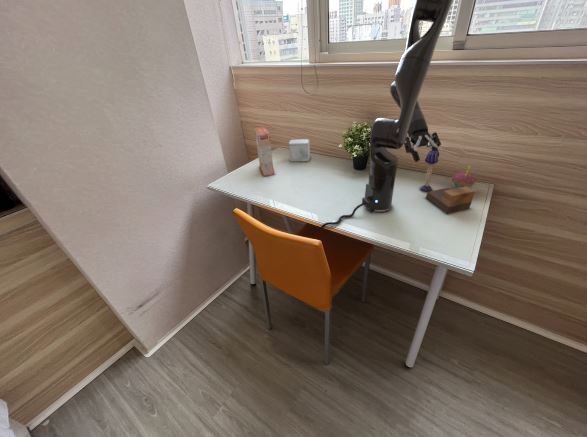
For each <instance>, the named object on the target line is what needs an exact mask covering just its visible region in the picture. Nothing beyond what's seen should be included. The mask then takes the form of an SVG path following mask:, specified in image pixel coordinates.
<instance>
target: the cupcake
mask: <svg viewBox="0 0 587 437" xmlns="http://www.w3.org/2000/svg"><path fill="white" fill-rule="evenodd" d="M470 169H471V164H469V165H468V167H467V169H466V171H460V172H456V173H454V174H453V175H452V176H451V182H452V183H453V189H456V188H461V187H466V186H467V187H469V188H471V187H473V186H475V185H476V183H477V177H475V176H474V175H473V174H471V173H469V171H470Z"/></svg>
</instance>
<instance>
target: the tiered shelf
mask: <svg viewBox="0 0 587 437" xmlns="http://www.w3.org/2000/svg"><path fill="white" fill-rule="evenodd" d="M475 194H476V190H474V189H473V188H471V187H470V188H469V187H467V186H466V187H461V188H456V189H454V188H452V189H451V188H450V187H444V188H438V189H434V190H432V191H429V192H426V195H425V200H427V201H429V202H430V203H431V204H432V205H433V206H436V207H437V208H438V209H439V210H441V211H442V212H444V213H445V214H446V215H448V214H452V213H457V212H462V211H466V210H470V208H471V205H472V202H473V200H474V197H475Z"/></svg>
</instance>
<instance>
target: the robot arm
mask: <svg viewBox="0 0 587 437" xmlns="http://www.w3.org/2000/svg"><path fill="white" fill-rule="evenodd" d="M453 3H454V0H414V3H413V6H412V11H411V15H410V21H409V25H408V30H407V37H406V44H405V50H404V53H403V54H402V56H401V58H400V61H399V63H398V65H397V69H396V72H395V75H394V81H393V82H392V83H391V84H390V87H389V92H390V96H391V98H392V100H393V101H394V102H395V103H396V105H397V107H398V108H399V109H400V113H399V117H398V118H389V117H377V118H376V119H375V120H374V121H373V122H372V126H371V129H370V135H369V171H368V182H367V183H365V191H364V192H365V193H364V197H362V198H361V203H360V204H358V205H357V206H356V207H354V209H353V211H352V213H351V214H344V215H340V216H339V218H338V220H337V221H330V222H325V223H323V224H322V225H321V226H320V229H324V227H326V226H329V225H330V226H334V225H338V224H340V222H341V221H342V219H343V218H351V217H353V216H355V213H356V211H357V210H358V209H360V208H361V207H363V206H364V207H365V208H366V209H367V210H368V211H369V212H370V213H380V214H381V213H387V212H389V211H390V210H391V209H392V203H393V196H394V188H395V182H396V175H397V170H398V163H399V159H398V157H397V156H396V155H394V154H393V153H392V152H390V151H389V150H387V149H390V150H400V149H401V148H402V147H403V145H404V150H405V153H406V154H411V155H412V159H413V161H414V162H415V163H417V162H419V161H421V157H420V154H419V151H417V150H418V148H420V147H426V148H429V149H430V150H431V151H437V153H438V158H439V157H440V152H439V147H440V146H441V145H442V142H441V140H440V138H439V135H438V133H437V132H436V131H434V132H432V133H429V127H428V123H427V121H426V117H425V115H424V113H423V111H422V109H421V106H420V103H419V100H418V99H419V95H420V93H421V90H422V88H423V85H424V82H425V80H426V77H427V74H428V72H429V68H430V66H431V62H432V59H433V55H434V52H435V49H436V46H437V44H438V41H439V38H440V35H441V33H442V30H443V28H444V25H445V23H446V20H447V18H448V15H449V13H450V11H451V9H452V5H453ZM420 21H421V22H428V23H432V24H431V25H430V27H429V28H428V30H427V31H426V32H425V33H424V34H423V35H422V36H421V33H420Z"/></svg>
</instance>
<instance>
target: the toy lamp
mask: <svg viewBox="0 0 587 437" xmlns="http://www.w3.org/2000/svg"><path fill="white" fill-rule="evenodd" d="M424 162H425V163H426V164H428V165H427V171H426V176H425V181H424V185H422V186H421V187H420V191H422V192H424V193H427V192H429V191H433V188H432V186H431V184H430V183H431V179H432V174H433V173H432V172H433V168H434V165H435V164H437V163H438V162H439V157H438V153H437V151H432V150H429V151H428V153H427V155H426V157H425V159H424Z"/></svg>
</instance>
